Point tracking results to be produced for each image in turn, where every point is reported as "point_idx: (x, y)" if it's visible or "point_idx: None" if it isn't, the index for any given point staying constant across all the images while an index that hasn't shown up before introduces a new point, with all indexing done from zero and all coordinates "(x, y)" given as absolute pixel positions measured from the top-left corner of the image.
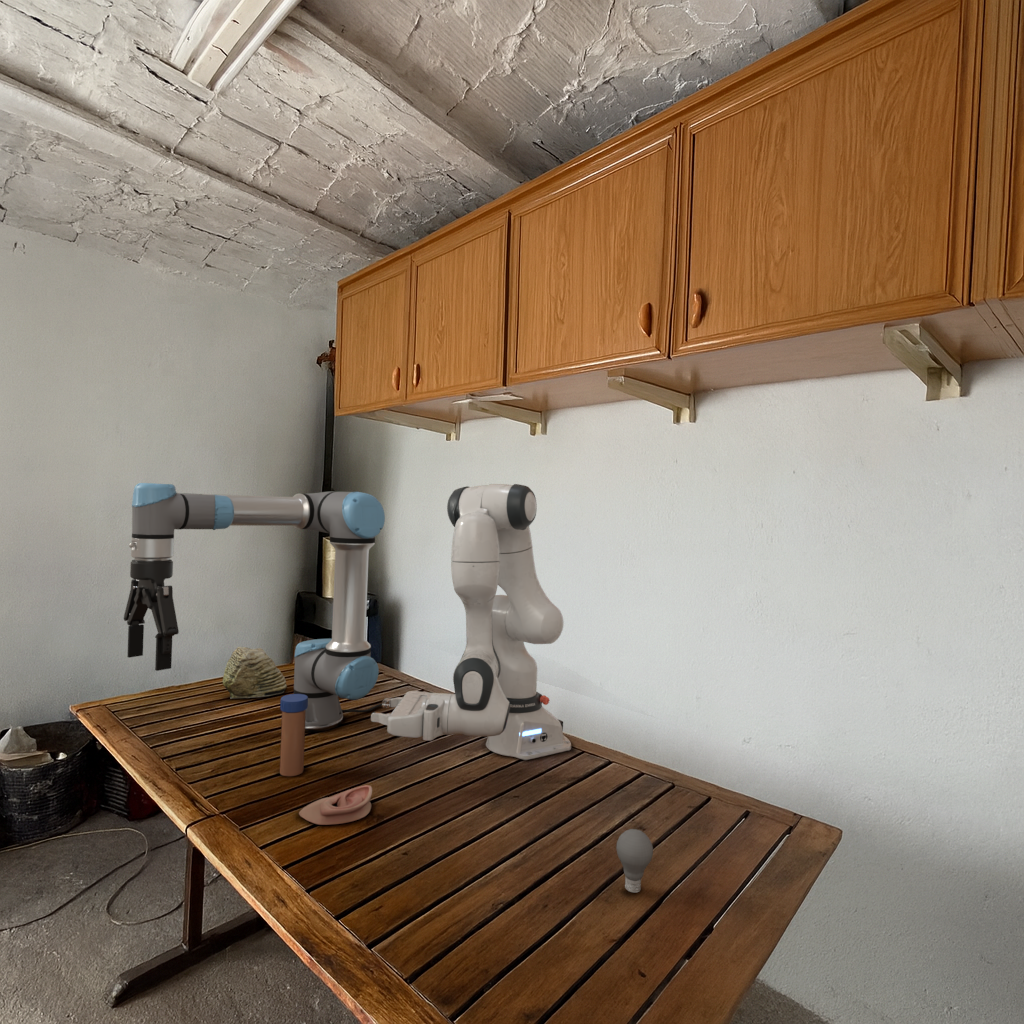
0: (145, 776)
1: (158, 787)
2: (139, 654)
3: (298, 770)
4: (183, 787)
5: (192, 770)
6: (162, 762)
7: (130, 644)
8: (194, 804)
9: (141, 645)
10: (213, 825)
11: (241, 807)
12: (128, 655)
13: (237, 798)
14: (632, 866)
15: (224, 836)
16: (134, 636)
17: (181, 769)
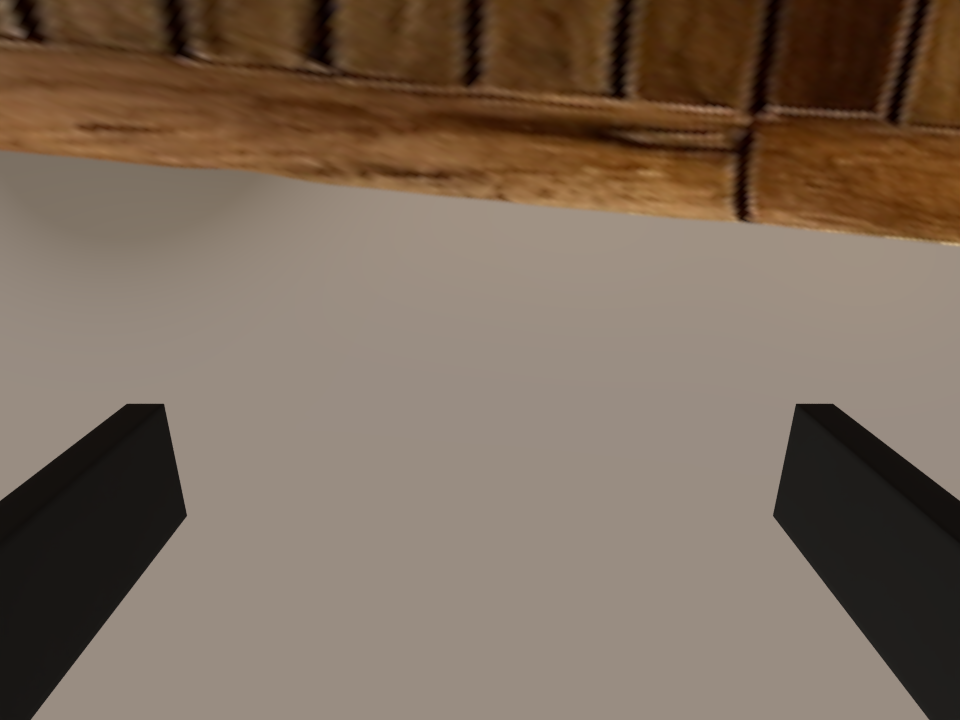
0: (312, 170)
1: (430, 175)
2: (161, 440)
3: None
4: (489, 114)
5: (368, 19)
6: (220, 72)
7: (115, 598)
8: (634, 146)
9: (105, 476)
10: (802, 168)
11: (777, 40)
12: (169, 528)
13: (709, 14)
14: None
15: (884, 176)
16: (38, 635)
17: (332, 47)
